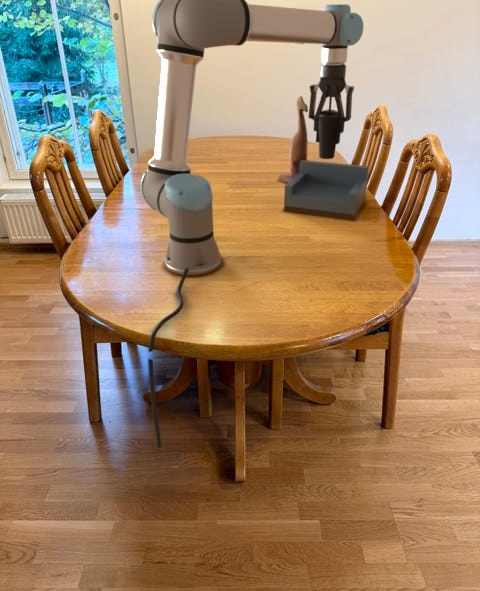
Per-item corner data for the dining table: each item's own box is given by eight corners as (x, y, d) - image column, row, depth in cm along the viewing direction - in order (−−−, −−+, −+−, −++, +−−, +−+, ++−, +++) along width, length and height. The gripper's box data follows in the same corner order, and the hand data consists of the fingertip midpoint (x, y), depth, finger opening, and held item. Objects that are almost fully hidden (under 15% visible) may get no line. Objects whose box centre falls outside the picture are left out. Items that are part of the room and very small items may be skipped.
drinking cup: (338, 154, 164) (343, 90, 154) (338, 160, 157) (343, 94, 147) (315, 153, 165) (319, 90, 155) (314, 159, 159) (317, 93, 149)
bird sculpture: (297, 187, 191) (302, 100, 175) (277, 180, 199) (279, 96, 182) (317, 181, 197) (323, 96, 181) (296, 175, 205) (300, 93, 188)
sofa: (353, 220, 160) (357, 181, 153) (283, 211, 168) (285, 173, 162) (364, 202, 175) (368, 166, 168) (300, 194, 183) (302, 159, 177)
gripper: (367, 63, 147) (358, 142, 158) (307, 62, 153) (303, 137, 165) (362, 65, 141) (354, 147, 153) (300, 64, 147) (296, 142, 159)
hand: (327, 142), depth 159 cm, fingers closed on drinking cup, 6 cm apart
